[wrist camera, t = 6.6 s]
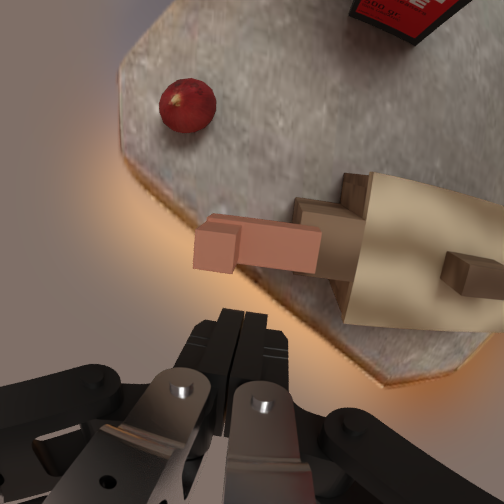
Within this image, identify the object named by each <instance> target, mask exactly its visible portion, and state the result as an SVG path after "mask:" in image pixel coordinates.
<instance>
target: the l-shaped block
mask: <svg viewBox="0 0 504 504" xmlns="http://www.w3.org/2000/svg"><path fill="white" fill-rule="evenodd" d="M321 236H322V232H321V230H320V229H319V227H314V226H307V225H300V224H293V223H285V222H278V221H271V220H263V219H255V218H248V217H240V216H232V215H223V214H215V213H213V214H211V215H210V216H208V217H207V221H206V222H205V223H203V224H202V225H201V226H199V227H198V228H197V229H195V242H194V258H193V269H200V270H207V271H213V272H220V273H228V274H232V273H233V271H234V269H235V266H236V264H237V263H238V264H246V265H253V266H260V267H268V268H275V269H282V270H290V271H297V272H305V273H313V274H315V270H316V265H317V259H318V254H319V248H320V242H321Z"/></svg>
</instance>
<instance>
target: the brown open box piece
mask: <svg viewBox="0 0 504 504" xmlns="http://www.w3.org/2000/svg"><path fill="white" fill-rule="evenodd" d="M368 179H369V175H360V174H351V173H344V178H343V186H342V192H341V199H340V204H338V203H332V202H326V201H319V200H312V199H306V198H299V197H296V198H295V205H294V212H293V219H292V223H293V224H300V225H307V226H314V227H319V229H320V230H321V232H322V236H321V242H320V248H319V254H318V259H317V265H316V270H315V274H313V273H305V272H297V271H293V274H295V275H303V276H310V277H318V278H326V279H328V280H329V282H330V285H331V287H332V290H333V292H334V295H335V297H336V300H337V303H338V305H339V308H340V310H341V313H342V312H343V308H344V304H345V300H346V296H347V291H348V287H349V283H350V282H354V279H355V274H356V270H357V265H358V260H359V256H360V251H361V246H362V241H363V235H364V230H365V225H366V221H365V220H364V219H362V217H363V211H364V205H365V199H366V193H367V186H368Z"/></svg>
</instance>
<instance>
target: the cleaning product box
mask: <svg viewBox="0 0 504 504" xmlns="http://www.w3.org/2000/svg"><path fill="white" fill-rule="evenodd" d="M471 1H472V0H353V3H352V6H351V9H350V12H349V15H348V16H350V17H353V18H355V19H358V20H361V21H363V22H365V23H368V24H370V25H373V26H375V27H377V28H379V29H382V30H384V31H386V32H388V33H390V34H392V35H395V36H397V37H399V38H401V39H403V40H405V41H407V42H409V43H411V44H413V45H414V46H416V45H417V44H418V43H420V42H421V41H422V40H423V39H424V38H426V37H427V36H428V35H429V34H431V33H432V32H433V31H434V30H435V29H437V28H438V27H439V26H440V25H442V24H443V23H444V22H445V21H447V20H448V19H449V18H450V17H452V16H453V15H454V14H455V13H457V12H458V11H459V10H460V9H462V8H463V7H464V6H466V5H467V4H468V3H469V2H471Z"/></svg>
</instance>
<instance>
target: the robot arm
mask: <svg viewBox="0 0 504 504" xmlns="http://www.w3.org/2000/svg"><path fill="white" fill-rule="evenodd" d="M267 317H268V315H267V314H261V313H253V312H246V314H245V318H244V311H239V310H232V309H226V308H223V309H222V311H221V313H220V316H219V318H218V321H217V322H216V321H210V320H204V321H202V322H201V323H199V324H198V325H196V326H195V327H194V329H193V330H192V332H191V334H190V337H189V338H188V340H187V342H186V344H185V346H184V348H183V350H182V351H181V353H180V355H179V357H178V359H177V361H176V363H175V365H174V367H173V368H171V369H167V370H164V371H162V372H160V373H159V374H158V375H157V376H156V377H155V378H154V379H153V381H152V382H151V383H150V384H122V383H121V380H120V377H119V375H118V374H117V372H116V371H114V370H113V369H112V368H110V367H108V366H105V365H100V364H88V365H84V366H80V367H76V368H72V369H69V370H65V371H62V372H58V373H54V374H50V375H47V376H43V377H39V378H35V379H31V380H27V381H23V382H19V383H15V384H11V385H6V386H2V387H0V504H3V503H6V502H10V501H15V500H19V499H23V498H27V497H31V496H34V495H38V494H42V493H45V492H49V491H51V492H50V494H49V495H47V496H42V497H38V498H35V499H32V500H29V501H25V502H22V503H18V504H189V502H190V499H191V497H192V494H193V492H194V489H195V486H196V484H197V482H198V479H199V476H200V474H201V471H202V469H203V466H204V463H205V461H206V458H207V454H208V449H209V447H210V444H211V440H212V436H213V435H215V436H222V431H223V427H224V423H225V429H224V437H228V438H229V441H228V449H227V457H226V467H225V477H224V487H223V498H222V504H504V502H503V501H501V500H499V499H498V498H496V497H494V496H492V495H491V494H489V493H487V492H485V491H484V490H482V489H481V488H479V487H477V486H476V485H474V484H473V483H471V482H469V481H468V480H466V479H465V478H463V477H462V476H460V475H459V474H457V473H455V472H454V471H452V470H451V469H449V468H448V467H446V466H445V465H443V464H441V463H440V462H439V461H437V460H435V459H434V458H432V457H431V456H430V455H428V454H427V453H425V452H424V451H422V450H421V449H419V448H418V447H416V446H415V445H413V444H412V443H411V442H409V441H408V440H406V439H405V438H403V437H402V436H400V435H399V434H398V433H396V432H395V431H394V430H392V429H391V428H389V427H388V426H387V425H385V424H384V423H382V422H381V421H380V420H378V419H377V418H375V417H374V416H373V415H371V414H370V413H368V412H366V411H364V410H361V409H357V408H340V409H337V410H334V411H332V412H331V413H329V414H328V416H327V417H323V416H320V415H316V414H313V413H310V412H308V411H305V410H304V409H302V408H300V407H299V406H297V405H296V404H295V403H294V402H293V399H292V396H291V394H290V393H289V383H288V382H289V377H288V376H289V375H288V339H287V338H286V336H285V335H284V334H283V332H282V331H278V330H271V329H266V326H267ZM78 424H79V425H80V428H81V429H80V430H76V431H73V432H70V433H68V434H64V435H61V436H58V437H54V438H51V439H48V440H44V441H39V440H35V438H37V437H39V436H42V435H45V434H49V433H52V432H55V431H59V430H62V429H65V428H68V427H72V426H75V425H78Z"/></svg>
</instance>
